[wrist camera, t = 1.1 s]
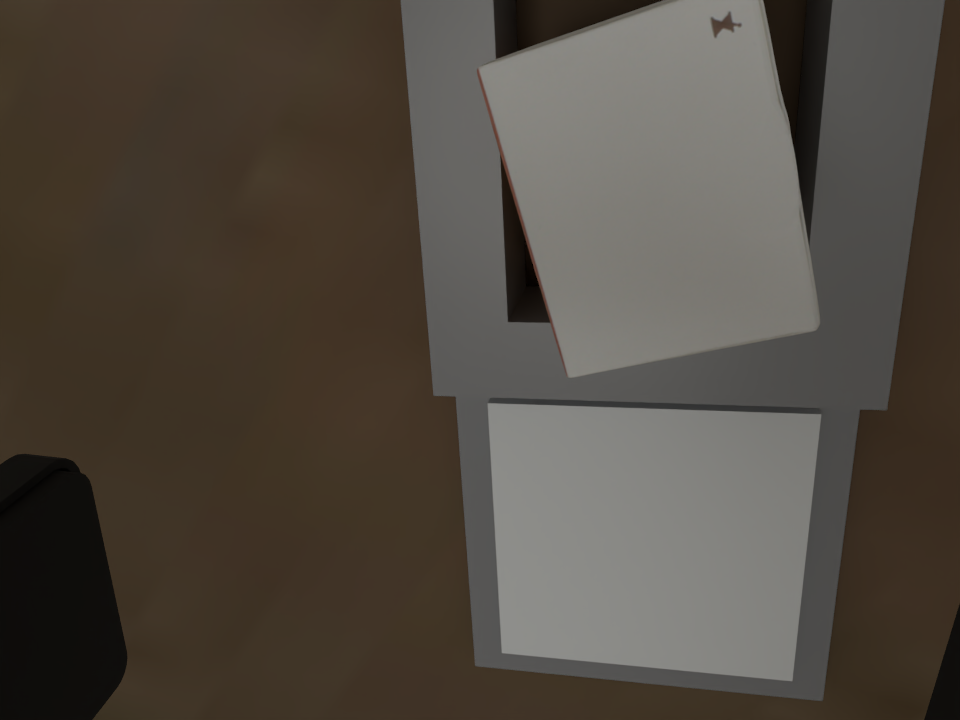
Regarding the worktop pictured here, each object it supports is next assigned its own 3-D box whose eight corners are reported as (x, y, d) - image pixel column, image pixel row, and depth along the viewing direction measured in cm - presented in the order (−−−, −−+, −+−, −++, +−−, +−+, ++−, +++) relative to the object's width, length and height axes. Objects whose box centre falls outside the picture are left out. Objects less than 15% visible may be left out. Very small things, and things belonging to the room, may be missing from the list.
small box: (542, 47, 30) (468, 59, 18) (719, -12, 28) (764, -40, 16) (598, 255, 32) (565, 386, 21) (763, 214, 31) (831, 331, 19)
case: (923, -177, 25) (975, -217, 21) (817, 681, 38) (837, 761, 34) (426, -126, 29) (388, -151, 24) (480, 649, 41) (460, 717, 37)
